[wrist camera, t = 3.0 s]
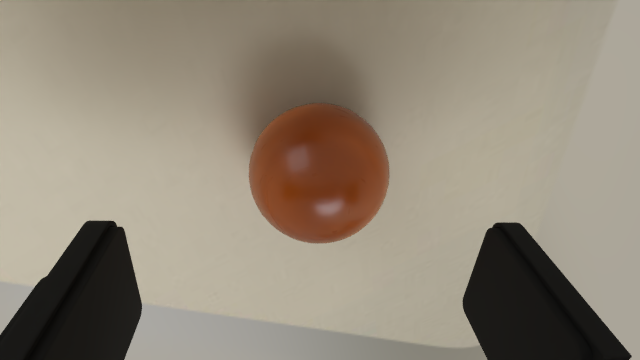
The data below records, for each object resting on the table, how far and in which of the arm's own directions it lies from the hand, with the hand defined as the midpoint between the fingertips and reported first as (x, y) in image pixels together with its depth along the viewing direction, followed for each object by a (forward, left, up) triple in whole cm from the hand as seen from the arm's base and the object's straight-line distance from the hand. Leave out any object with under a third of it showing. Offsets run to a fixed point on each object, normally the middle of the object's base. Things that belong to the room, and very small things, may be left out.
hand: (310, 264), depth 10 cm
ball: (0, 0, -7) cm, 7 cm away
